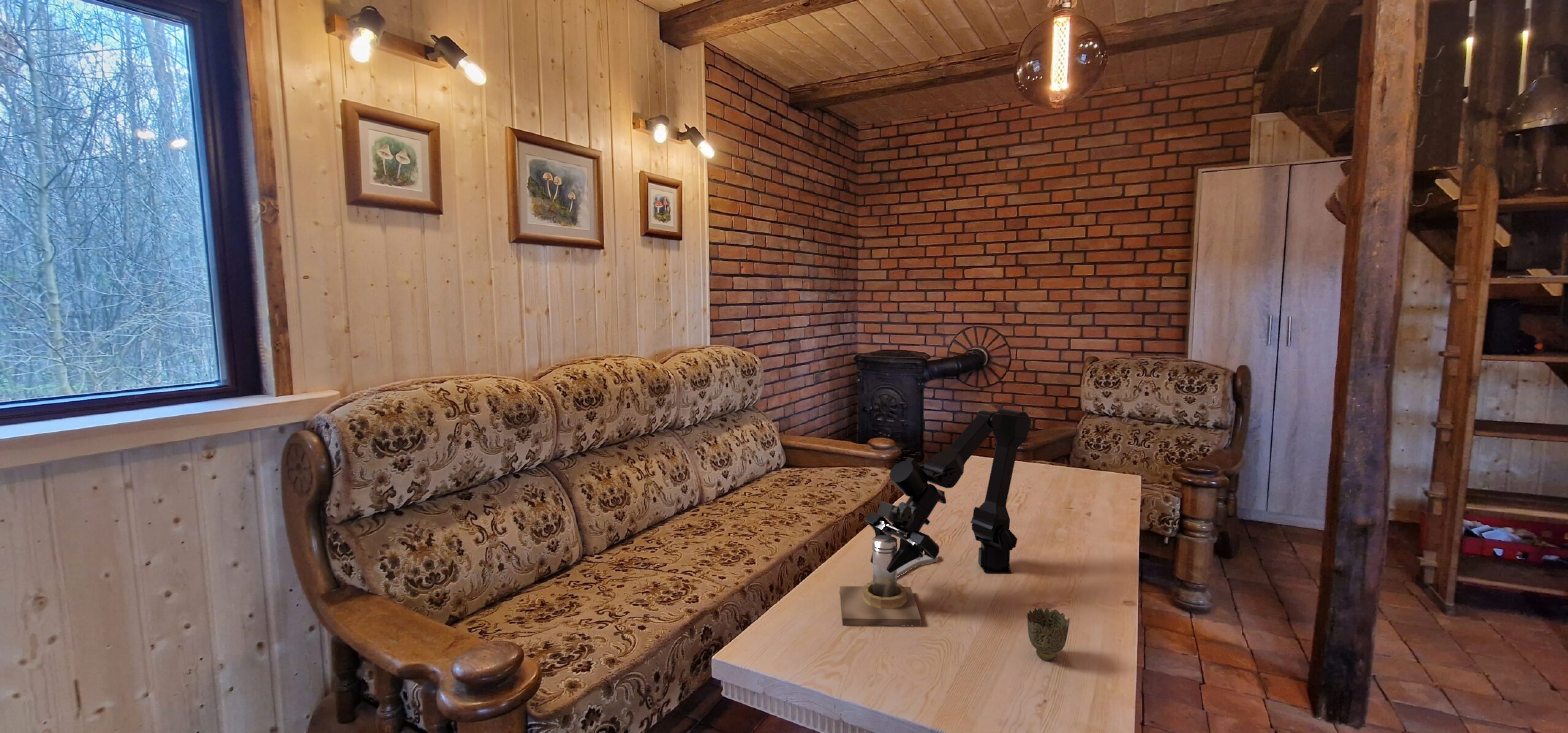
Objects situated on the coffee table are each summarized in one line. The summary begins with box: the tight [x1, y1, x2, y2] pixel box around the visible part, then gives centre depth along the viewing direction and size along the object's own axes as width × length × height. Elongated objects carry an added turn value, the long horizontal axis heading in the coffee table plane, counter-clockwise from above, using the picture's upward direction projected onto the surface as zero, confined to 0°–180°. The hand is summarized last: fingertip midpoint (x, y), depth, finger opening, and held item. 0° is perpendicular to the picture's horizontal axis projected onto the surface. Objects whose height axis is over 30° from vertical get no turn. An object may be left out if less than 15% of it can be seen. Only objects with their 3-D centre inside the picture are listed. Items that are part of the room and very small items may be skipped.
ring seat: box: [839, 581, 922, 627], centre depth 146 cm, size 16×15×4 cm
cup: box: [1026, 607, 1071, 662], centre depth 126 cm, size 8×7×8 cm
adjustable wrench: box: [870, 552, 939, 582], centre depth 166 cm, size 25×6×2 cm, turn 132°
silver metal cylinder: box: [871, 535, 899, 598], centre depth 146 cm, size 5×5×12 cm
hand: (880, 567), depth 145 cm, fingers closed on silver metal cylinder, 5 cm apart
